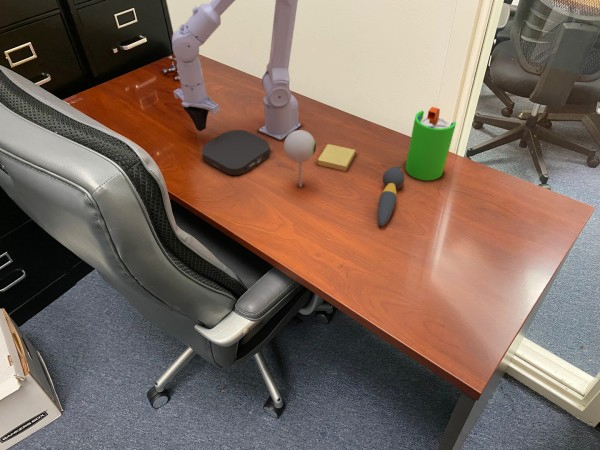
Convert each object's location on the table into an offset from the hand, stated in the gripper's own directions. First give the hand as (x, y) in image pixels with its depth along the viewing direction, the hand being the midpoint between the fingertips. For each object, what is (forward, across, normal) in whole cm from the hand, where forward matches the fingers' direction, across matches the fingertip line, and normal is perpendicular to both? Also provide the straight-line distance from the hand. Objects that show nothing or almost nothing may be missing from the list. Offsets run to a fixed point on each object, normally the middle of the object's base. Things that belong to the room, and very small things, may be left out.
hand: (201, 129), depth 118 cm
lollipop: (+4, +33, 0) cm, 34 cm away
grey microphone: (+4, +53, +8) cm, 54 cm away
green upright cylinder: (+4, +54, +23) cm, 59 cm away
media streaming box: (+4, +12, 0) cm, 13 cm away
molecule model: (+4, -36, +21) cm, 41 cm away
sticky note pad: (+3, +34, +14) cm, 37 cm away
